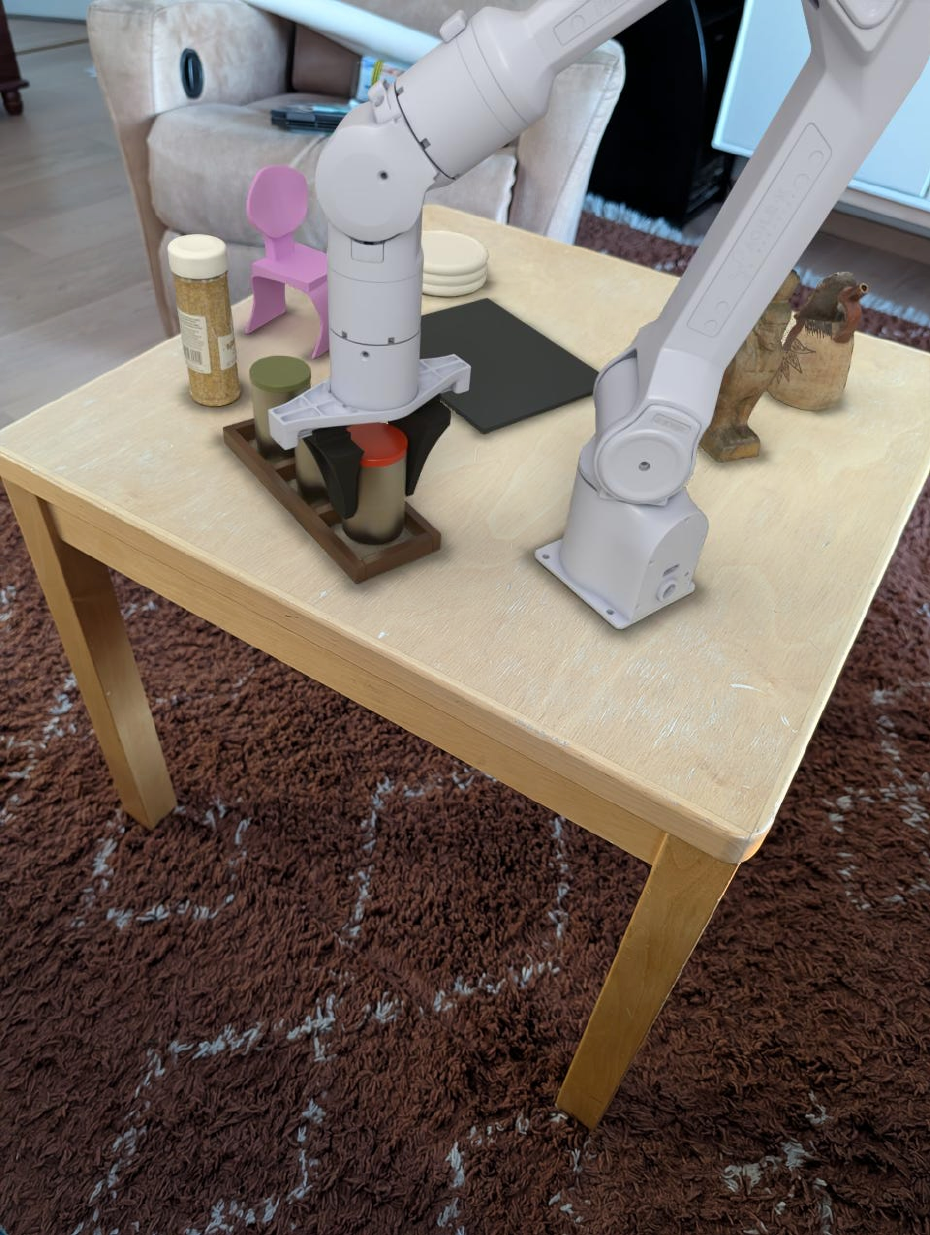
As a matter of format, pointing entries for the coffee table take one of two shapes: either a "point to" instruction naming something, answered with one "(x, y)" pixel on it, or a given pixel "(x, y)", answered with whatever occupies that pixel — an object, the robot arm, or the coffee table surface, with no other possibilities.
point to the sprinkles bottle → (205, 317)
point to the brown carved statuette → (749, 380)
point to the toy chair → (284, 250)
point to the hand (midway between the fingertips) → (373, 499)
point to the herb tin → (275, 398)
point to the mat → (503, 365)
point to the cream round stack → (452, 263)
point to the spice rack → (330, 513)
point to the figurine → (820, 345)
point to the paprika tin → (378, 484)
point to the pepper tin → (310, 477)
